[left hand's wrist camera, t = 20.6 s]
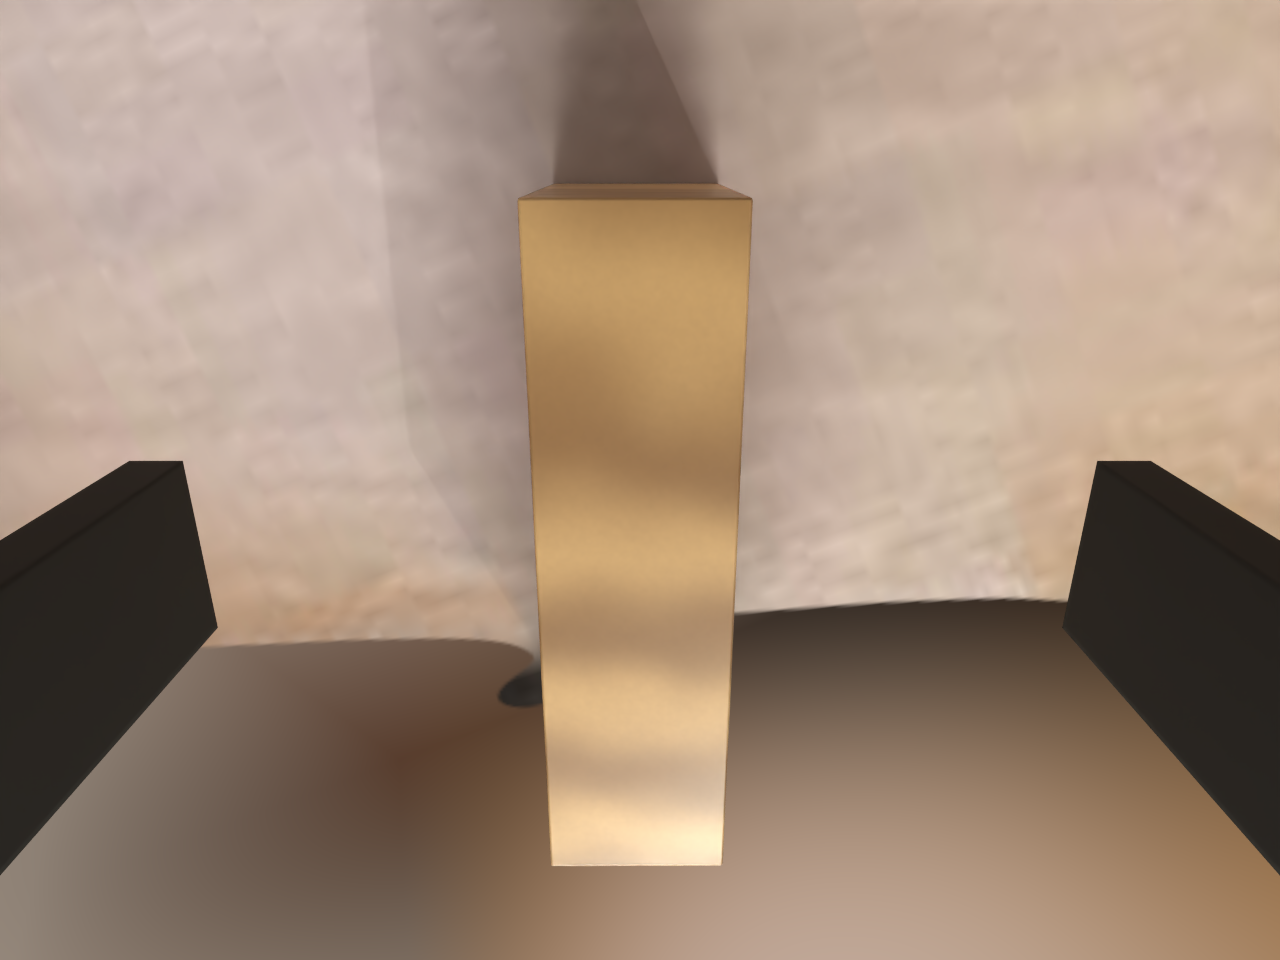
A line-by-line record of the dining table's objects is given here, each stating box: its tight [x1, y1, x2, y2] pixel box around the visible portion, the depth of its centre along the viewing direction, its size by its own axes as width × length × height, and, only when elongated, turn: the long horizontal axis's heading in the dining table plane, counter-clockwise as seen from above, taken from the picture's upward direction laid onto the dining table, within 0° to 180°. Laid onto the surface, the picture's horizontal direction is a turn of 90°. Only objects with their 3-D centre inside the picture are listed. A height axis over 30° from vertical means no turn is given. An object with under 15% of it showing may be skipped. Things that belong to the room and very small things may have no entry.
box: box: [518, 184, 753, 866], centre depth 32 cm, size 24×6×10 cm, turn 0°
